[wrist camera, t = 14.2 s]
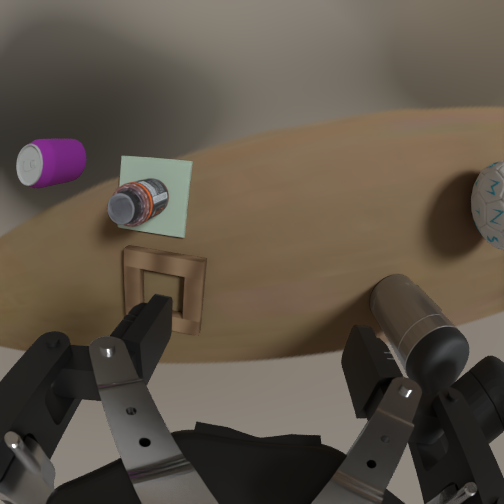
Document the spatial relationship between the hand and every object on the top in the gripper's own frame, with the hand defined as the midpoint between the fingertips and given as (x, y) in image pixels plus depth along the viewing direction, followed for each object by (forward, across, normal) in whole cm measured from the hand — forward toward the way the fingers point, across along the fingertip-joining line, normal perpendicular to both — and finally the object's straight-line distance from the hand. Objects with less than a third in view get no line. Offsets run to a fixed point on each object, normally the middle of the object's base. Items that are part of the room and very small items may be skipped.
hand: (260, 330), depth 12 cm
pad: (+33, +18, +1) cm, 38 cm away
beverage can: (+33, +35, -4) cm, 48 cm away
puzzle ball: (+33, -40, -10) cm, 53 cm away
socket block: (+33, +15, +17) cm, 40 cm away
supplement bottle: (+33, +18, +1) cm, 37 cm away
